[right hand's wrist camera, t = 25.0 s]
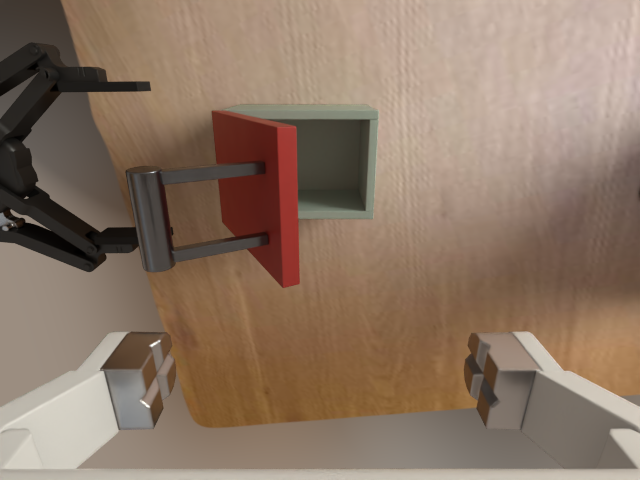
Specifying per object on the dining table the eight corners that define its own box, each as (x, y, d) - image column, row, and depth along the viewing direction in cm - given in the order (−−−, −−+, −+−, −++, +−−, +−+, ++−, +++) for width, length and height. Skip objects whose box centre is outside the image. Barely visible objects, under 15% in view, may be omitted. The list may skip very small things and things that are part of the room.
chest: (367, 104, 40) (379, 110, 33) (363, 194, 44) (373, 219, 36) (239, 104, 40) (220, 110, 33) (246, 194, 44) (230, 219, 36)
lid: (296, 126, 21) (120, 135, 17) (299, 284, 25) (154, 320, 21) (225, 110, 32) (109, 113, 28) (234, 220, 36) (132, 236, 32)
